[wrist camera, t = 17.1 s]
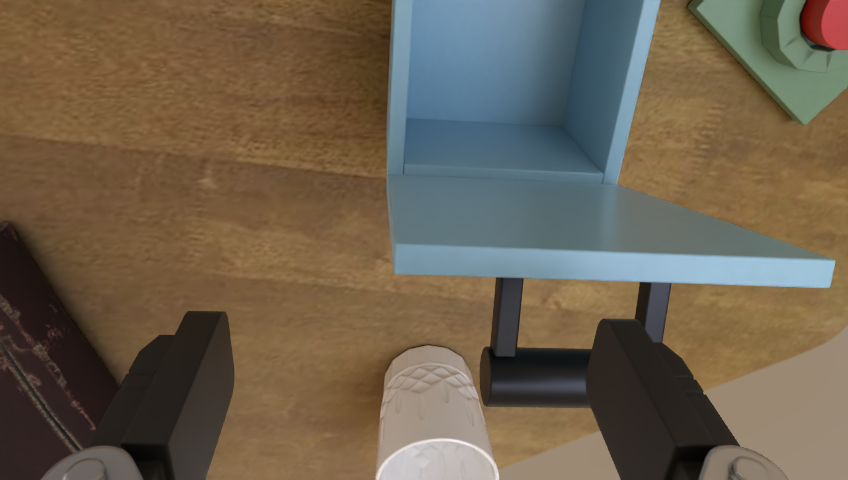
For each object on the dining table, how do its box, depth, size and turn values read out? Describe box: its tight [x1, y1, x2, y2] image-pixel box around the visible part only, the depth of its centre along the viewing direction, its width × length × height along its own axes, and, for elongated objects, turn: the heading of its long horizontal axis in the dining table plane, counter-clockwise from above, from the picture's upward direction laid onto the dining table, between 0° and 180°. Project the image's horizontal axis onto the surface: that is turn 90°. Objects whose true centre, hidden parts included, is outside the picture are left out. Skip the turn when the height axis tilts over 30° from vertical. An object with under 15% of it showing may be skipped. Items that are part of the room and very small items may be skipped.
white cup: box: [375, 345, 499, 480], centre depth 42 cm, size 8×8×10 cm
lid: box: [386, 174, 835, 408], centre depth 23 cm, size 14×12×6 cm
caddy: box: [386, 0, 661, 185], centre depth 30 cm, size 14×12×9 cm
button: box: [801, 0, 848, 50], centre depth 32 cm, size 4×4×2 cm
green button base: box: [687, 0, 848, 125], centre depth 34 cm, size 11×9×3 cm
